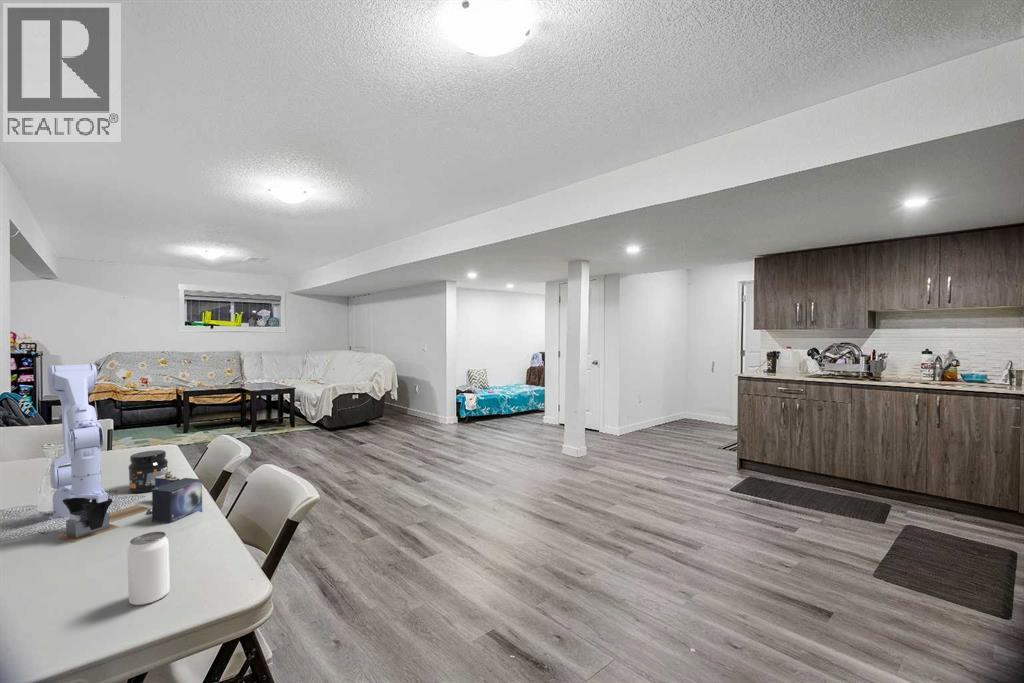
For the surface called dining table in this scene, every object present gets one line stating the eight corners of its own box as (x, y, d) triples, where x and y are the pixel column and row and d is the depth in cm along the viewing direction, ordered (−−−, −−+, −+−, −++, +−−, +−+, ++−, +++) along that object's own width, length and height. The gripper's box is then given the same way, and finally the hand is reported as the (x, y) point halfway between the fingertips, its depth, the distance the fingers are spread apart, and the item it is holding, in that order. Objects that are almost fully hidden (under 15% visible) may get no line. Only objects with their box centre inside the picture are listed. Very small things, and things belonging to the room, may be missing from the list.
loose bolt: (146, 520, 130) (145, 511, 130) (153, 516, 133) (153, 507, 133) (166, 520, 130) (165, 511, 130) (173, 516, 133) (173, 507, 133)
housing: (66, 535, 117) (65, 514, 117) (100, 525, 123) (99, 504, 123) (75, 539, 115) (75, 516, 115) (109, 528, 122) (108, 506, 122)
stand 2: (95, 522, 129) (95, 517, 129) (136, 509, 138) (136, 504, 138) (111, 527, 126) (111, 521, 126) (152, 513, 135) (152, 508, 135)
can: (144, 588, 95) (142, 531, 95) (177, 587, 96) (175, 529, 95) (120, 607, 89) (118, 545, 88) (155, 605, 89) (154, 544, 89)
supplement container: (128, 488, 158) (127, 453, 157) (166, 481, 165) (165, 448, 164) (130, 496, 150) (129, 459, 149) (170, 488, 157) (169, 453, 157)
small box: (170, 529, 124) (169, 490, 124) (150, 527, 125) (149, 489, 125) (204, 514, 135) (203, 478, 134) (185, 512, 136) (184, 477, 136)
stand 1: (55, 543, 116) (55, 537, 116) (103, 527, 126) (103, 522, 126) (72, 548, 113) (71, 542, 113) (120, 532, 122) (120, 526, 122)
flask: (153, 506, 141) (152, 471, 141) (163, 503, 144) (162, 468, 143) (174, 510, 138) (173, 474, 138) (184, 506, 141) (183, 471, 140)
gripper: (51, 475, 118) (53, 527, 119) (82, 481, 112) (84, 537, 113) (86, 467, 125) (87, 517, 125) (116, 473, 119) (118, 525, 119)
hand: (88, 526), depth 119 cm, fingers open, 7 cm apart
